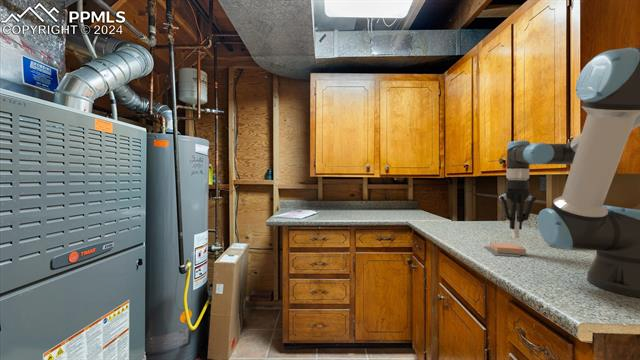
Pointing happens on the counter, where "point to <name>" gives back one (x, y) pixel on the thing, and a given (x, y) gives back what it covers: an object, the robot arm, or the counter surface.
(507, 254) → the mat
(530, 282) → the counter surface
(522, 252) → the tile
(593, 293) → the counter surface
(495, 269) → the counter surface
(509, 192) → the robot arm
